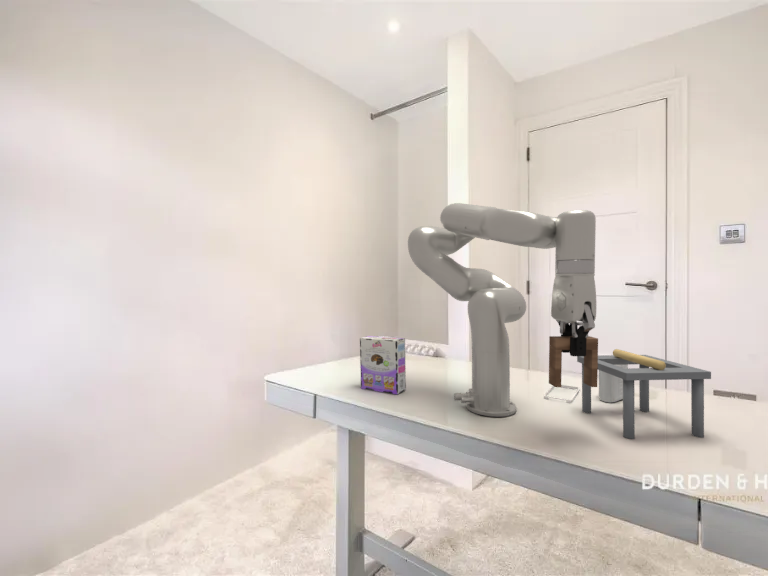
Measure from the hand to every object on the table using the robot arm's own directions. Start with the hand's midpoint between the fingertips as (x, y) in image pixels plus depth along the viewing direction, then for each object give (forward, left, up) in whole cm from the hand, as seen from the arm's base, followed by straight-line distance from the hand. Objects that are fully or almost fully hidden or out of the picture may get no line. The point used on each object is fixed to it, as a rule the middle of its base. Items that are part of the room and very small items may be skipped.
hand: (573, 353), depth 77 cm
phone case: (+12, +28, -18) cm, 35 cm away
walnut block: (0, 0, -7) cm, 7 cm away
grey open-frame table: (+18, +6, -18) cm, 26 cm away
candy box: (-41, +36, -18) cm, 57 cm away
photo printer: (+24, +23, -18) cm, 38 cm away
